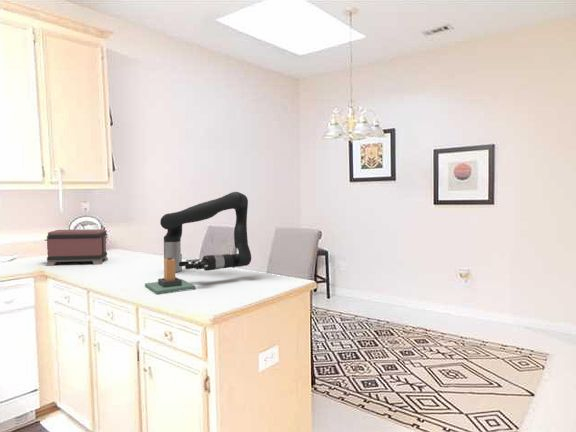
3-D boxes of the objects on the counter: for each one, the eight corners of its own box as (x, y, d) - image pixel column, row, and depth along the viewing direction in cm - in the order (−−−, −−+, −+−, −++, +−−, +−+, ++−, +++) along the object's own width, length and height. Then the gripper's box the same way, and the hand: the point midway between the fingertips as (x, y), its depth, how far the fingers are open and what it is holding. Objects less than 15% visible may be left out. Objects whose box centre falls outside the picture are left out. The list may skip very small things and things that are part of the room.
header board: (181, 282, 202) (181, 274, 202) (195, 289, 187) (195, 280, 187) (144, 286, 192) (144, 278, 191) (156, 294, 177) (156, 285, 177)
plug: (172, 283, 192) (172, 257, 191) (175, 284, 189) (175, 258, 188) (164, 284, 190) (163, 257, 189) (166, 285, 187) (166, 259, 186)
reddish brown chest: (52, 261, 261) (51, 229, 260) (108, 259, 268) (107, 229, 267) (40, 266, 242) (39, 232, 241) (100, 264, 249) (100, 231, 248)
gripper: (207, 253, 207) (177, 255, 198) (219, 256, 196) (187, 259, 186) (207, 267, 208) (177, 270, 198) (219, 272, 196) (187, 275, 187)
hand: (182, 265), depth 192 cm, fingers open, 8 cm apart
